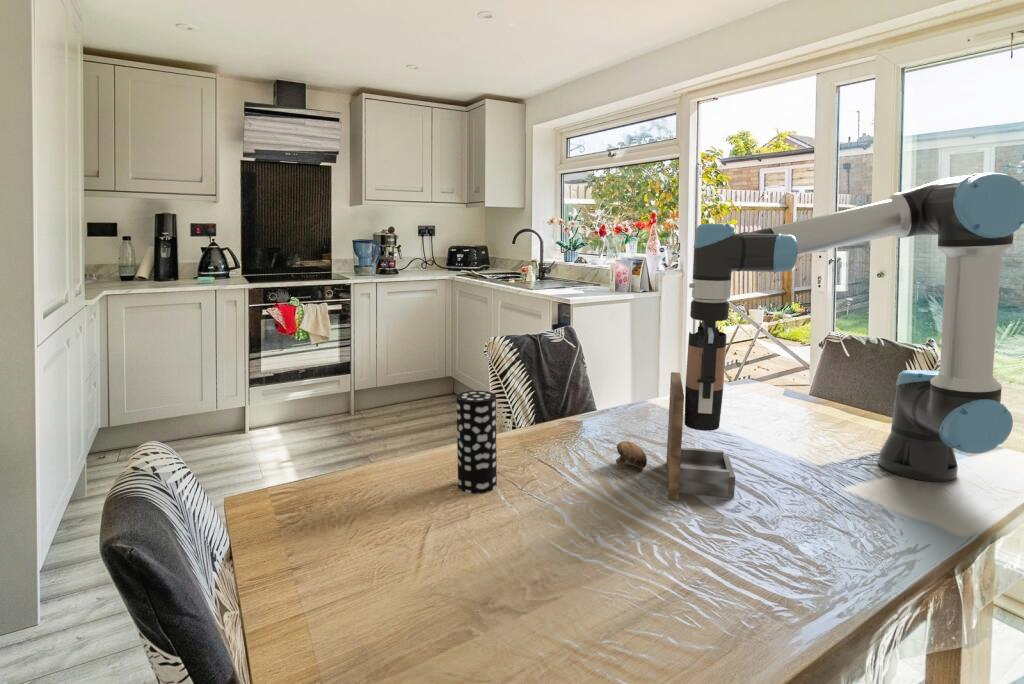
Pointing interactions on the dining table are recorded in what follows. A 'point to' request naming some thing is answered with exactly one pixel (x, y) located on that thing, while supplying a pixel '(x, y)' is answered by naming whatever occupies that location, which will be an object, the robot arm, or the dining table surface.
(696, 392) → the travel mug
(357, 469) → the dining table surface
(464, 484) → the white-spotted black cylinder
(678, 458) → the l-shaped stand
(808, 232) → the robot arm
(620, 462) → the mushroom
